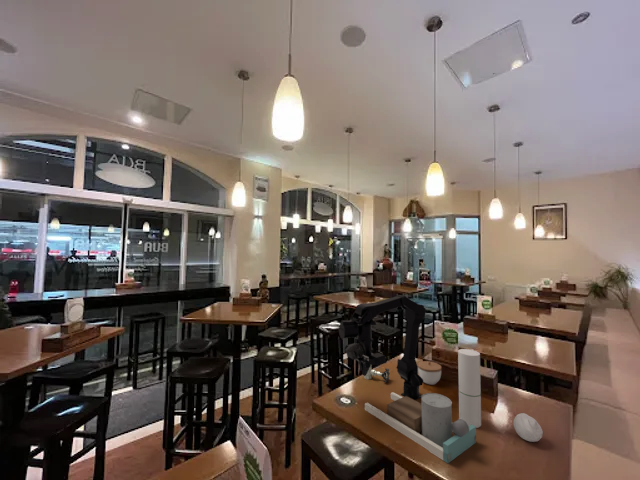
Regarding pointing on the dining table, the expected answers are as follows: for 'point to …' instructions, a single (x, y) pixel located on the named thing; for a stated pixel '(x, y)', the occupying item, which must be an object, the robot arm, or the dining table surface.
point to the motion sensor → (527, 427)
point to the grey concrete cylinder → (436, 418)
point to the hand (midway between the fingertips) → (364, 375)
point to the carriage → (406, 412)
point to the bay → (451, 447)
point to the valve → (374, 372)
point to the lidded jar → (429, 372)
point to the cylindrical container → (469, 387)
